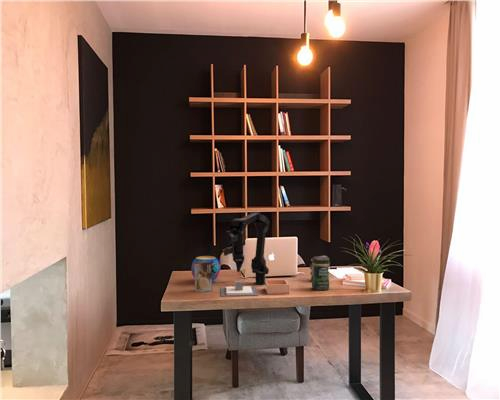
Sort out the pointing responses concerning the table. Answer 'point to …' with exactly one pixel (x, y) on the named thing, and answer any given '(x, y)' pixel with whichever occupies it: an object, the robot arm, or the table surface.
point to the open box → (276, 287)
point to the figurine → (313, 269)
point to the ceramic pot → (214, 265)
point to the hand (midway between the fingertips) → (238, 270)
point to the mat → (254, 290)
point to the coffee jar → (320, 273)
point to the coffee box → (203, 276)
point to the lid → (239, 289)
